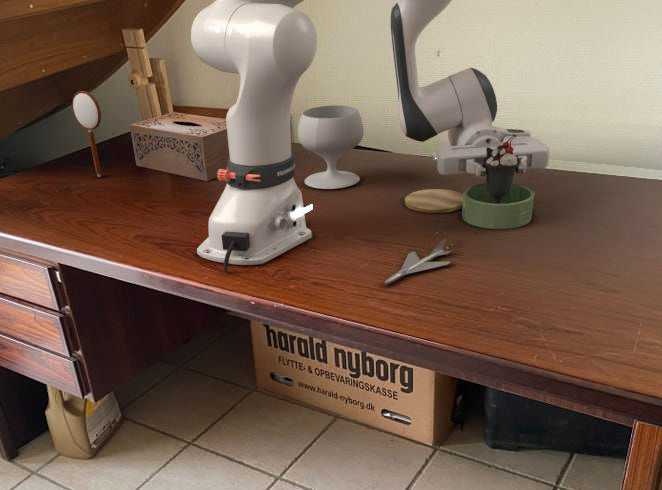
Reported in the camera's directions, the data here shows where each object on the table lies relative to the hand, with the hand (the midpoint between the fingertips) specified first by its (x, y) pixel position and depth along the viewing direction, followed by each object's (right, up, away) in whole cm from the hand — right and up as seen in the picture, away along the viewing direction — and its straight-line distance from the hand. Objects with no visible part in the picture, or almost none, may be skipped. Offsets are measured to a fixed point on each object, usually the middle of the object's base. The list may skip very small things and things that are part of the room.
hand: (502, 170), depth 129 cm
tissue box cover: (-61, +14, +49) cm, 80 cm away
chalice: (-28, +5, +30) cm, 41 cm away
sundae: (+1, -7, +5) cm, 9 cm away
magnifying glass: (-83, +10, +46) cm, 95 cm away
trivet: (-9, -3, +14) cm, 17 cm away
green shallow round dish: (+1, -7, +5) cm, 9 cm away
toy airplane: (-16, -18, -10) cm, 27 cm away
